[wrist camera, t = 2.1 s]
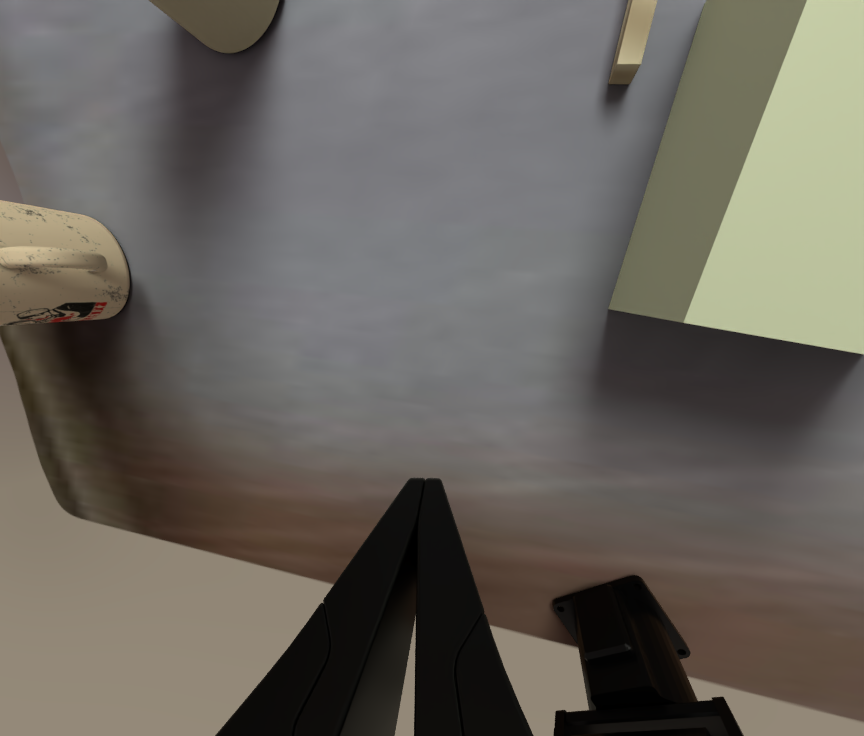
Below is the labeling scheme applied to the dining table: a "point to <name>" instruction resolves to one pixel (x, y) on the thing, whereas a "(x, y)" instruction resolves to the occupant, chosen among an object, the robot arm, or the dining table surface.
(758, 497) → the dining table surface
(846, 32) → the sage box
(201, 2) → the travel mug
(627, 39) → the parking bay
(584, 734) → the robot arm
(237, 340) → the dining table surface
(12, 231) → the teacup with lid
